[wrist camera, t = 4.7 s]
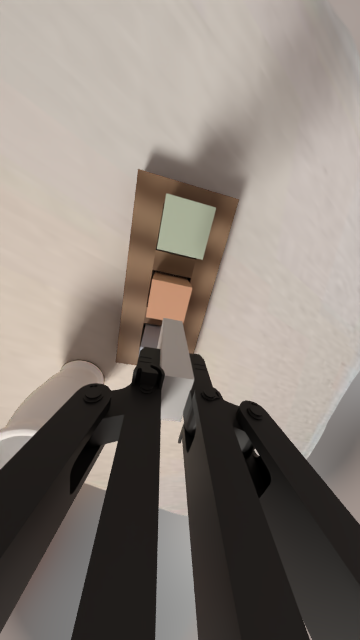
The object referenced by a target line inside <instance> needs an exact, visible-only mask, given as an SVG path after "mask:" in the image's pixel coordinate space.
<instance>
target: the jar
mask: <svg viewBox="0 0 360 640" xmlns="http://www.w3.org/2000/svg"><path fill="white" fill-rule="evenodd" d="M103 382H104V377H103V374H102V372H101V371H100V369H99V368H98V367H97V366H95V365H94V364H92V363H90V362H87V361H81V360H77V361H72V362H69V363H67V364H65V365H64V366H63V367H62V368H61V370H60V372H58V373H57V374H55V375H53V376H52V377H51V378H49V379H48V380H47V381H46V382H45V383H44V384H42V385H41V386H40V387H38V388H37V389H36V390H35V391H33V392H32V393H31V394H30V395H29V396H28V397H27V398H26V399H25V400H24V401H23V403H22V404H21V405H20V406H19V407H18V409H17V410H16V411H15V413H14V414H13V416H12V417H11V419H10V420H9V422H8V423H7V425H6V427H5V428H3V429H1V430H0V469H1V468H2V467H3V466H4V465H5V464H6V463H7V462H8V461H9V460H10V459H11V458H12V457H13V456H14V455H15V454H16V453H17V452H18V451H19V450H20V449H21V448H22V447H23V446H24V445H25V444H26V443H27V442H28V441H29V440H30V439H31V438H32V437H33V435H34V434H35V433H36V432H37V431H38V430H39V429H40V428H41V427H42V426H43V425H44V424H45V423H46V422H47V421H48V420H49V419H50V418H51V417H52V416H53V415H54V414H55V413H56V412H57V411H58V410H59V409H60V408H61V407H62V406H63V405H64V404H65V403H66V402H67V401H68V400H69V399H70V398H71V397H72V396H73V394H74V393H75V392H76V391H77V390H79V389H80V388H81V387H83V386H85V385H88V384H93V383H99V384H103Z"/></svg>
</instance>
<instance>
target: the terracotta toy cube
mask: <svg viewBox="0 0 360 640" xmlns="http://www.w3.org/2000/svg"><path fill="white" fill-rule="evenodd" d="M191 292H192V286H191V284H190V283H189V281H188V279H187V278H186V277H182V276H177V275H173V274H169V273H164V272H160V271H155V274H154V276H153V279H152V284H151V290H150V296H149V302H148V307H147V313H146V317H148V318H153V319H159V320H163V318H168V319H173V320H178V321H182V322H183V323H184V319H185V315H186V311H187V307H188V303H189V300H190V296H191Z"/></svg>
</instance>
